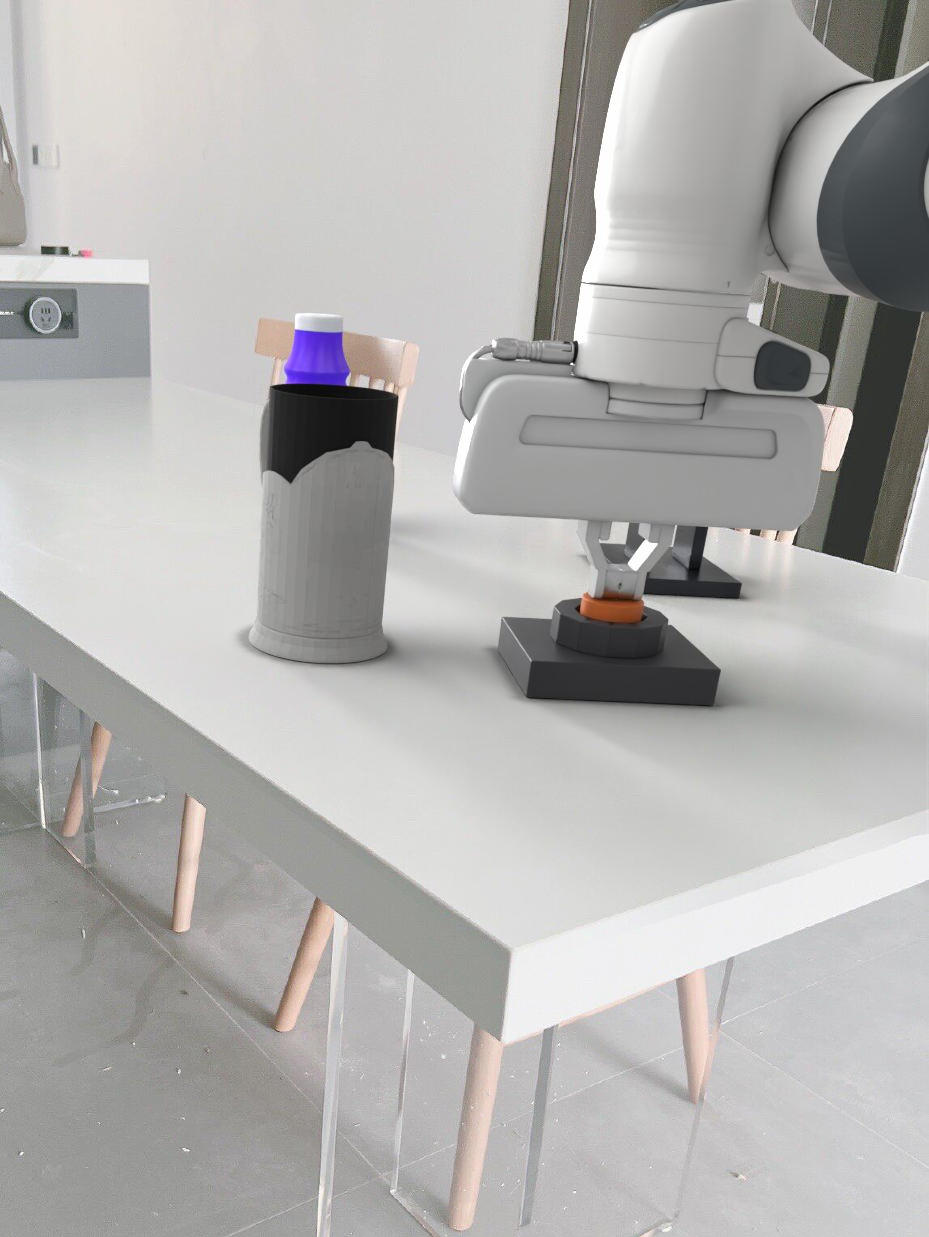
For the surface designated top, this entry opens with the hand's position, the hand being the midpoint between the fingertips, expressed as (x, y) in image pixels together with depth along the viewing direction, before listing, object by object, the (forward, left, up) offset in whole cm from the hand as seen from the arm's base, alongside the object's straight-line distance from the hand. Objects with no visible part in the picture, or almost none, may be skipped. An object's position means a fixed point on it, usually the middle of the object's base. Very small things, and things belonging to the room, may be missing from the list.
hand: (613, 597), depth 72 cm
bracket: (-12, -27, -5) cm, 30 cm away
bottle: (+16, -41, -5) cm, 44 cm away
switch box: (0, 0, -5) cm, 5 cm away
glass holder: (+18, -7, -5) cm, 20 cm away
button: (0, 0, -2) cm, 2 cm away
